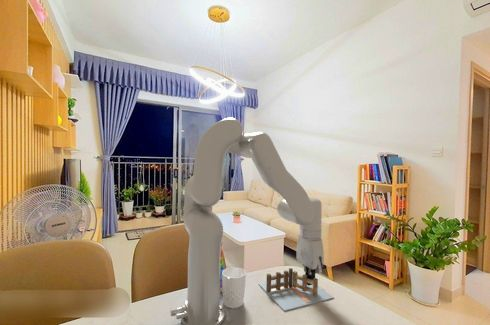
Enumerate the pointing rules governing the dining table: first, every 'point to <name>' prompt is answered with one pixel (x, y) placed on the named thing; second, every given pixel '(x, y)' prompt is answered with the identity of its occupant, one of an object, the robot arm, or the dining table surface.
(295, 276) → the fence fold
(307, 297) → the card
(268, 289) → the fence fixed
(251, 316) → the dining table surface
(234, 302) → the white cup
